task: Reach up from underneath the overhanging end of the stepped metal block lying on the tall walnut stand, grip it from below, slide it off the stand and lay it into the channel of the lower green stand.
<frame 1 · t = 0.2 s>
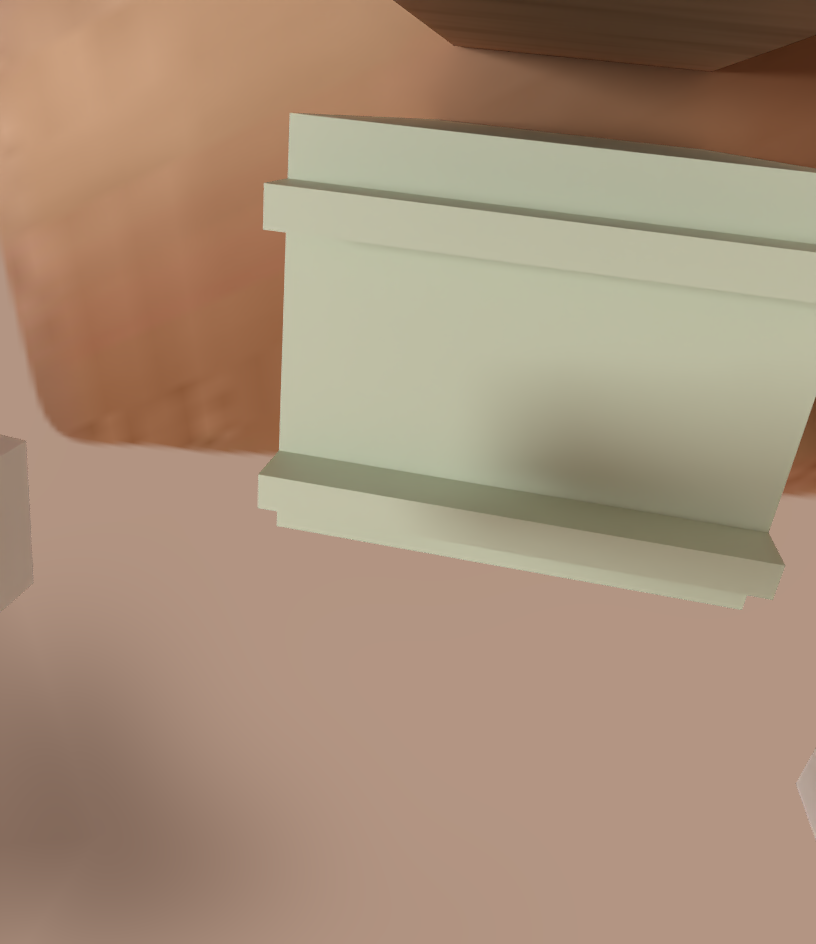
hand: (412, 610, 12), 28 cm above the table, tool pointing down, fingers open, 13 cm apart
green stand: (547, 248, 36), on the table
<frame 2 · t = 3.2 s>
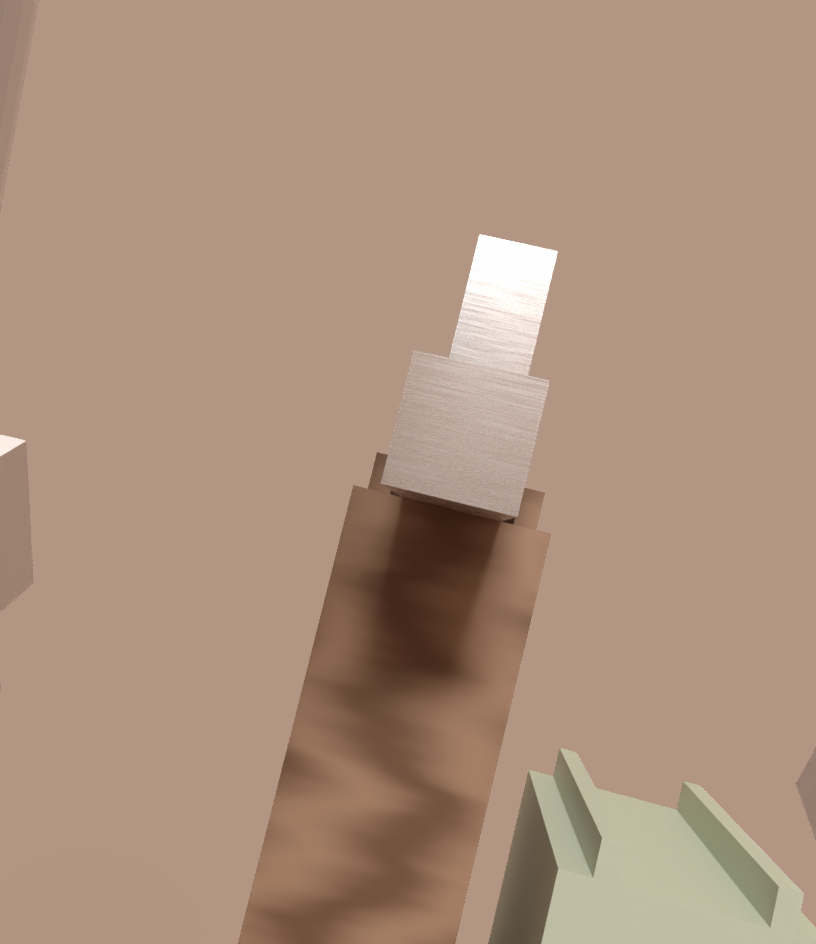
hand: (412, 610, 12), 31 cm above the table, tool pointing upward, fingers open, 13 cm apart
stepped metal block: (451, 510, 32), point 33 cm above the table, touching walnut stand
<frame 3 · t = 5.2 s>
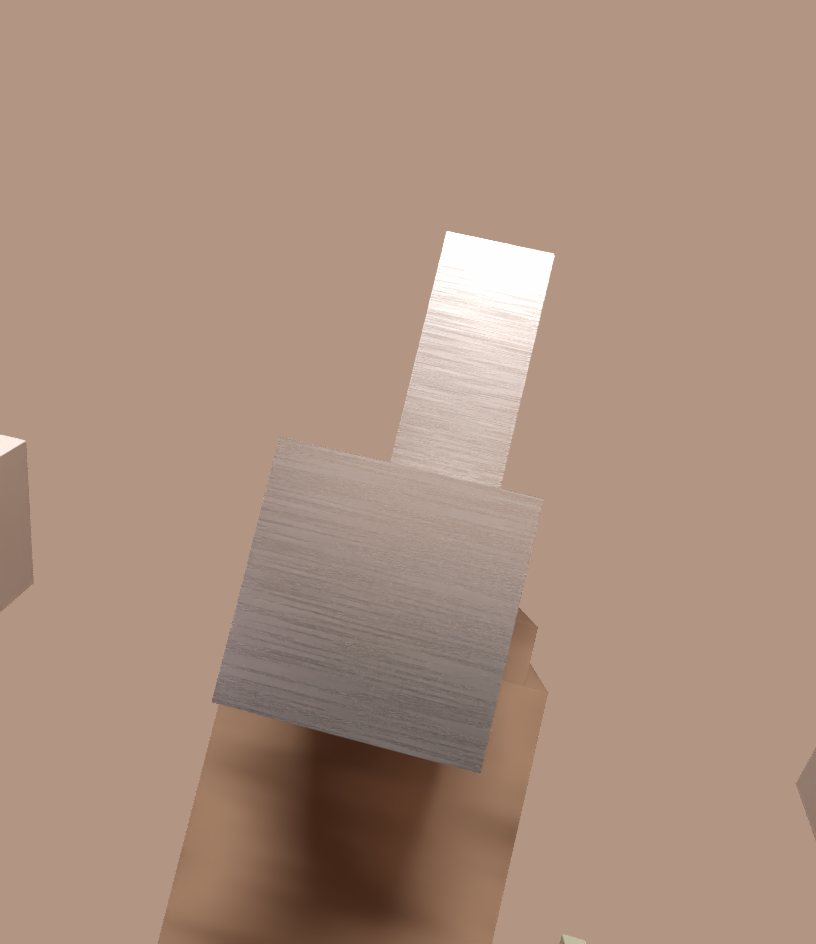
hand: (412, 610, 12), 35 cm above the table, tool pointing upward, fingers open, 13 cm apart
stepped metal block: (396, 644, 21), point 33 cm above the table, touching walnut stand
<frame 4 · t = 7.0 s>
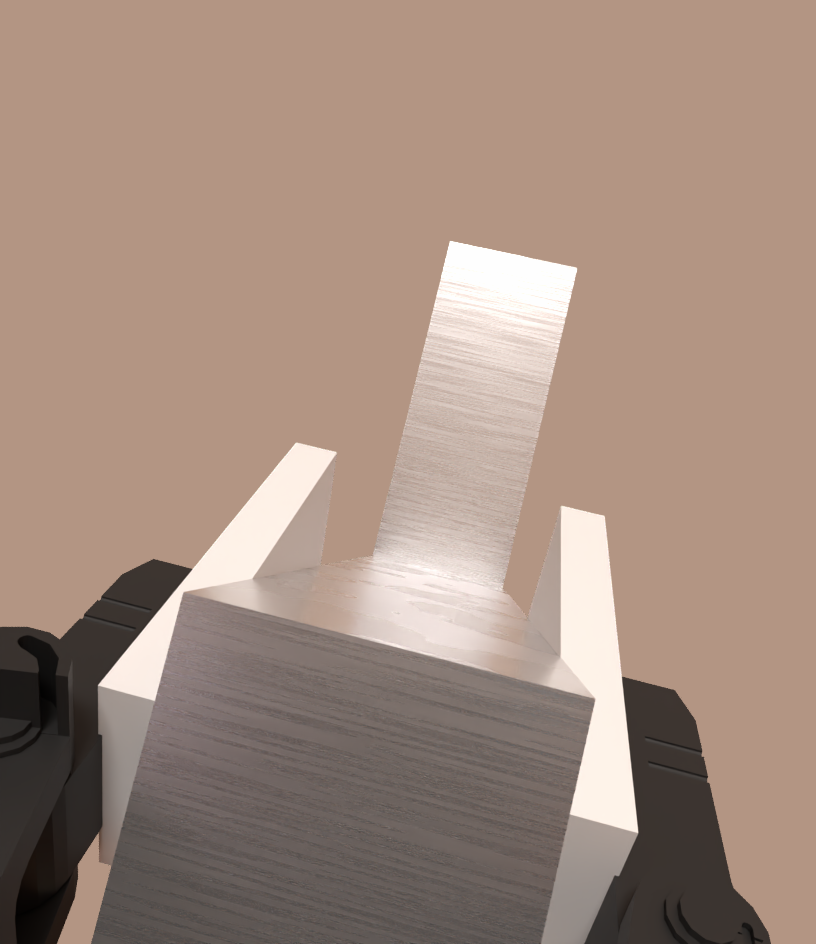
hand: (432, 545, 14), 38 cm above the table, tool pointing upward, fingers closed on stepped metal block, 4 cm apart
stepped metal block: (385, 761, 17), point 33 cm above the table, touching gripper, walnut stand
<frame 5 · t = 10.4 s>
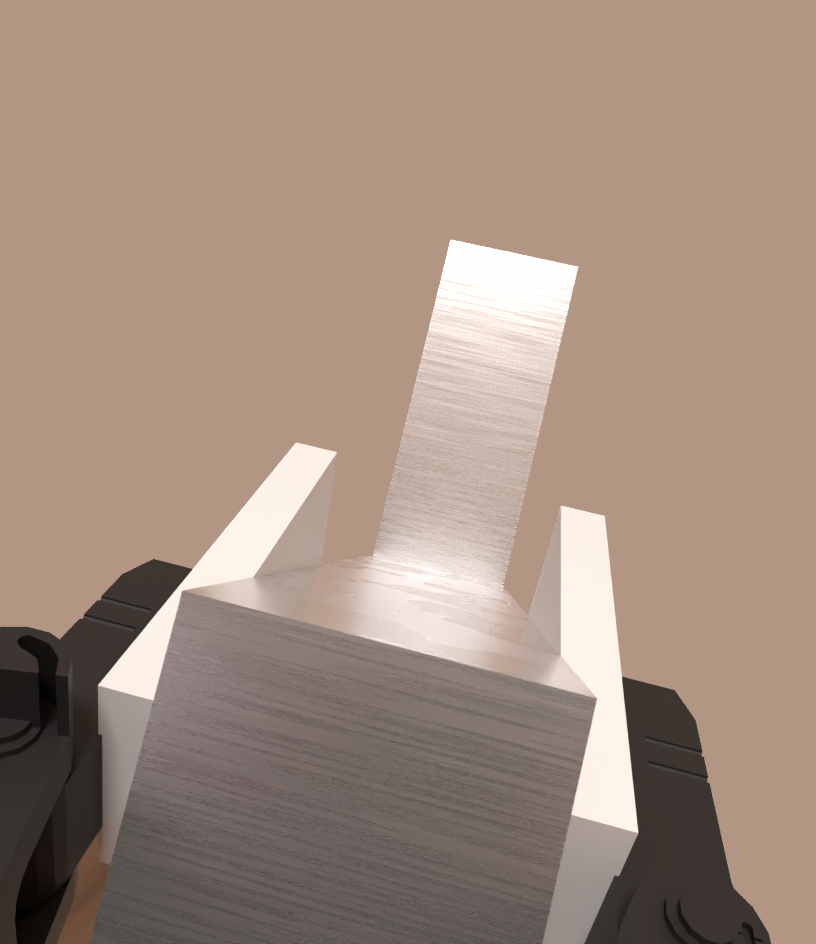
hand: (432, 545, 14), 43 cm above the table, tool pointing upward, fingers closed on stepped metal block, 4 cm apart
stepped metal block: (386, 760, 17), point 38 cm above the table, touching gripper
when the fingers open (27 cm above the table, at t = 13.8 s): stepped metal block stays where it is, resting on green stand.
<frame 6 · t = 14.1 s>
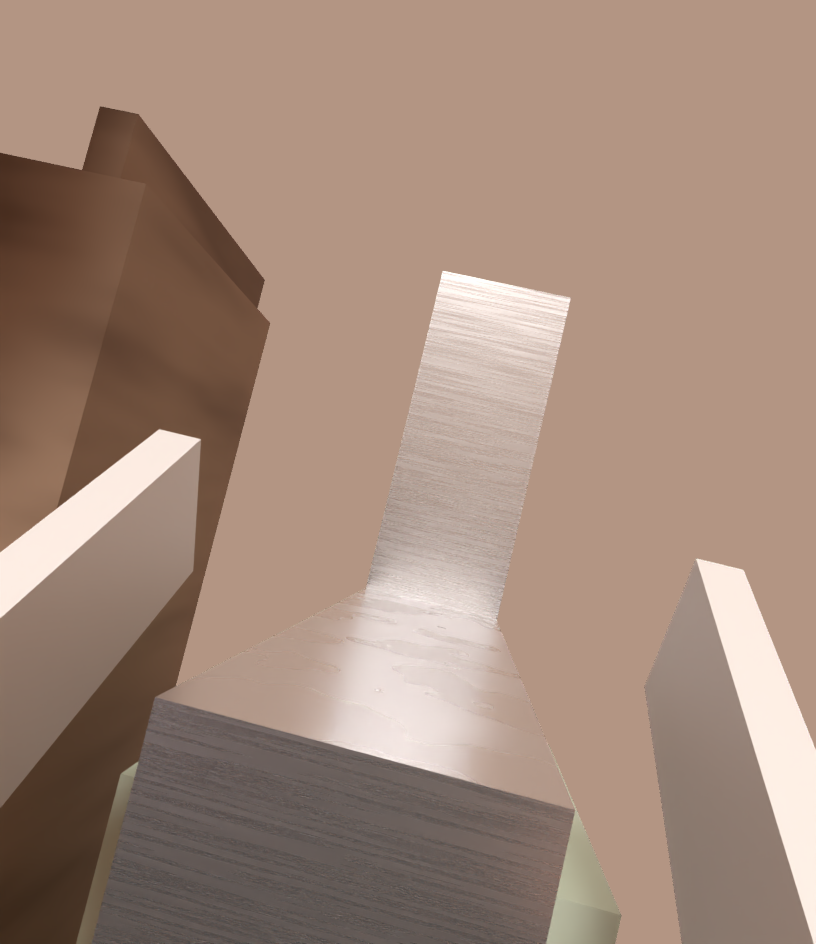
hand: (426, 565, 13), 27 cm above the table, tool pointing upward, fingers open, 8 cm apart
stepped metal block: (376, 808, 17), point 21 cm above the table, touching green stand
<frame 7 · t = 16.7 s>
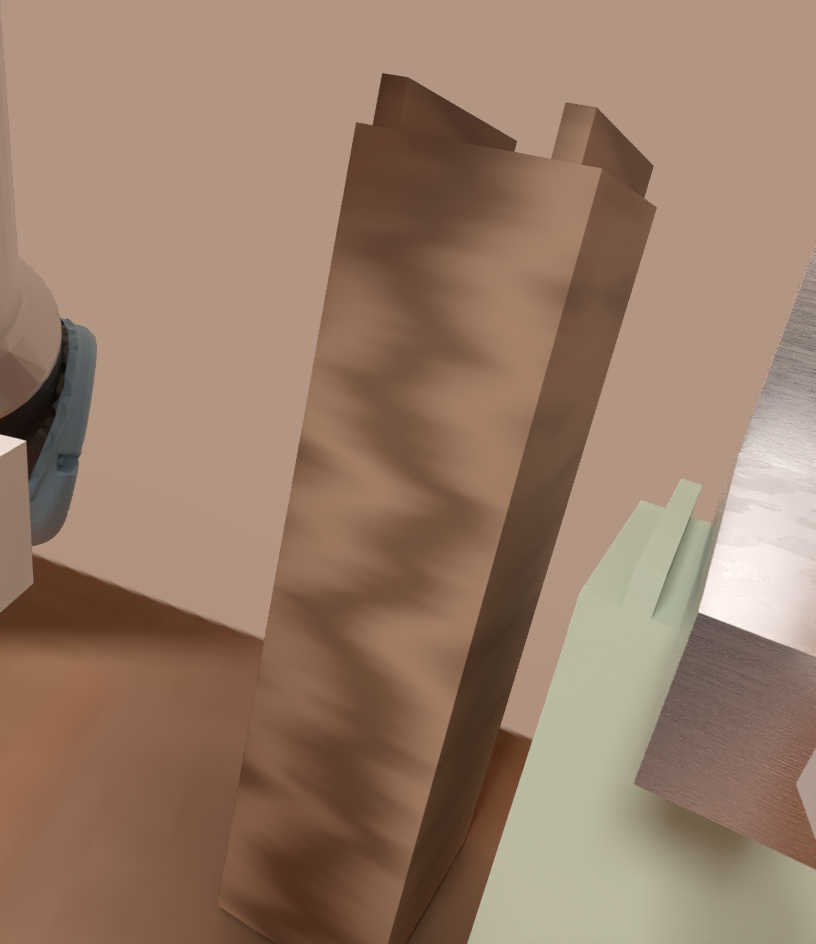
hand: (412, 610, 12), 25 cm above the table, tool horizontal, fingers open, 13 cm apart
stepped metal block: (751, 631, 24), point 21 cm above the table, touching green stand
walnut stand: (352, 869, 38), on the table
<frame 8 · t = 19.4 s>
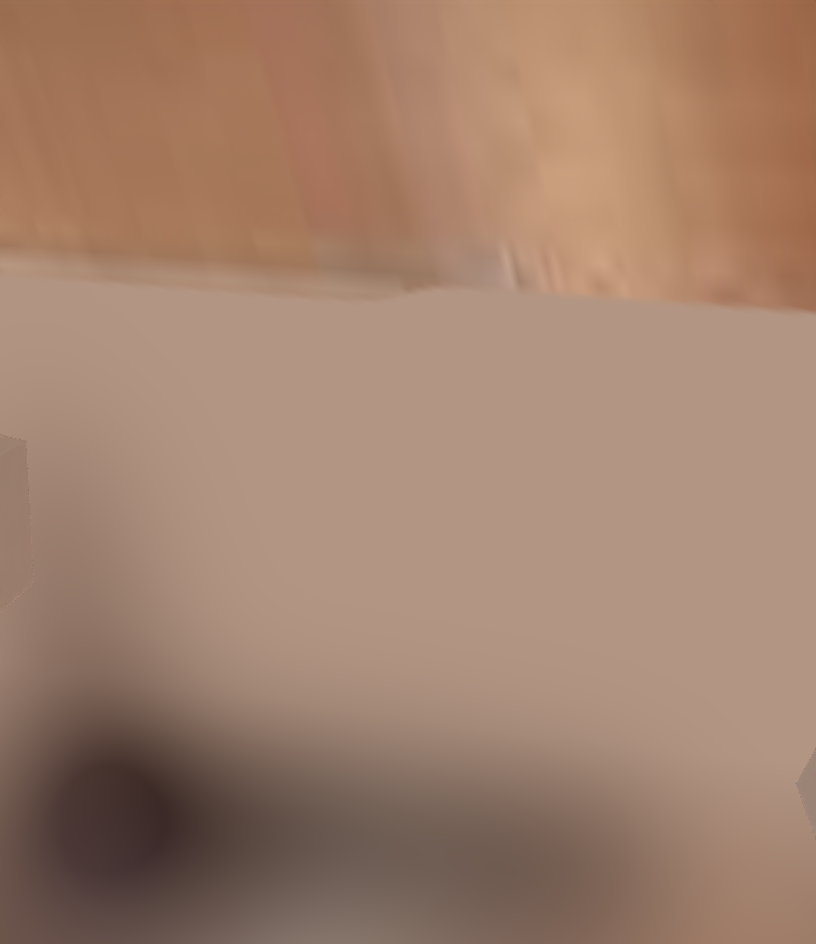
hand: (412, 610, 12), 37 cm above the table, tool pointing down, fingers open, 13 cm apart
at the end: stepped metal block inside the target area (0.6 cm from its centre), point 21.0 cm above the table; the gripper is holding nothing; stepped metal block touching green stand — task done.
